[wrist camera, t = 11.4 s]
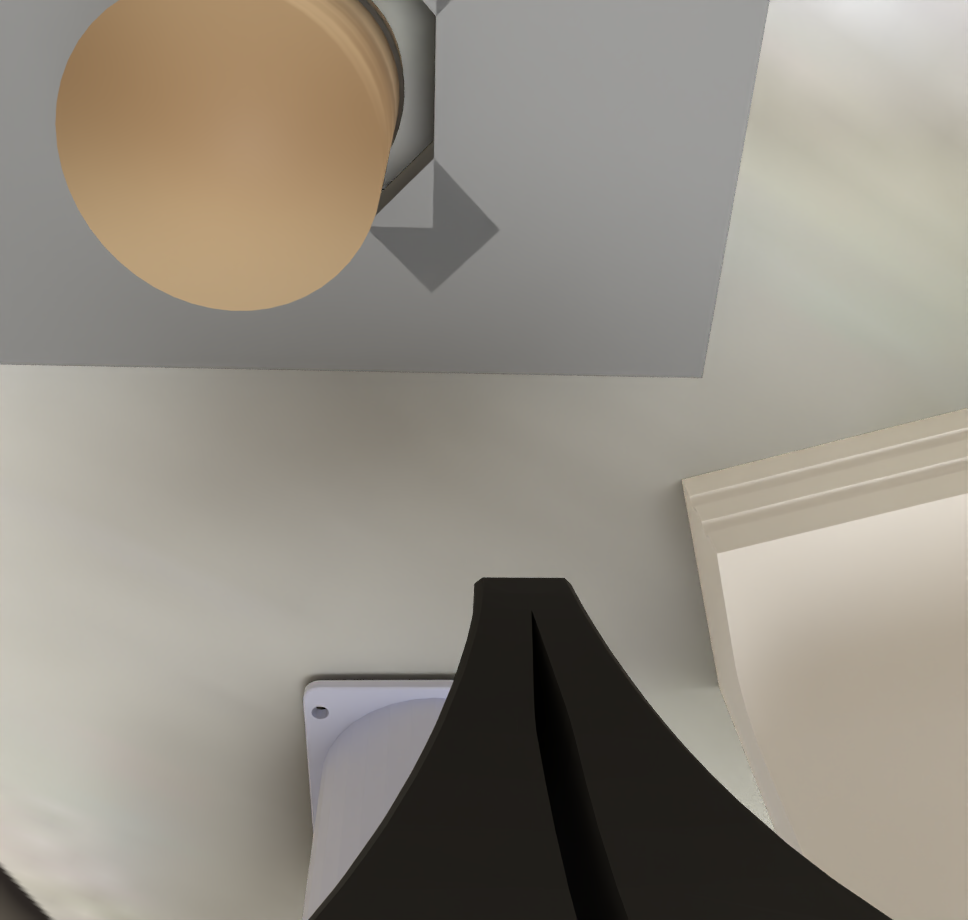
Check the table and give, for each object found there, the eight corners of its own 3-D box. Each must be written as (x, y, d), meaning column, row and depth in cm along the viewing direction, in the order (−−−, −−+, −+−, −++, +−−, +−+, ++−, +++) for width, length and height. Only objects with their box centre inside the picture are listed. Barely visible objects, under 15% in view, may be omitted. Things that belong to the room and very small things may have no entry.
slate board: (680, 345, 22) (702, 377, 21) (-61, 328, 21) (-104, 362, 20) (779, -257, 17) (819, -283, 15) (-238, -326, 15) (-323, -361, 14)
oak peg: (402, 182, 20) (384, 325, 12) (215, 168, 20) (73, 306, 12) (411, -27, 18) (395, -13, 10) (202, -47, 18) (21, -48, 10)
